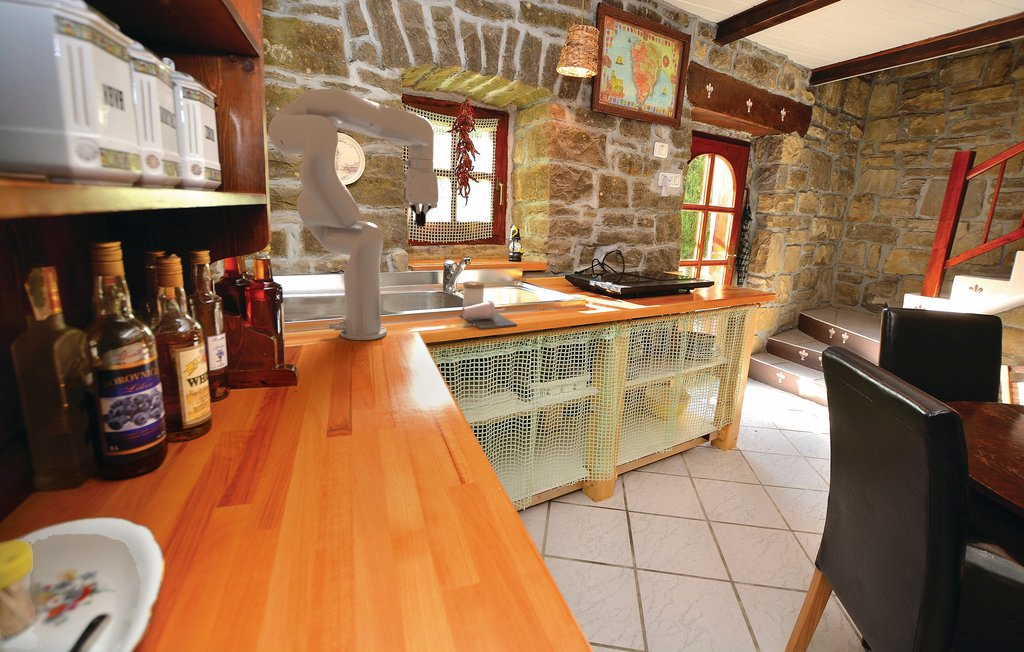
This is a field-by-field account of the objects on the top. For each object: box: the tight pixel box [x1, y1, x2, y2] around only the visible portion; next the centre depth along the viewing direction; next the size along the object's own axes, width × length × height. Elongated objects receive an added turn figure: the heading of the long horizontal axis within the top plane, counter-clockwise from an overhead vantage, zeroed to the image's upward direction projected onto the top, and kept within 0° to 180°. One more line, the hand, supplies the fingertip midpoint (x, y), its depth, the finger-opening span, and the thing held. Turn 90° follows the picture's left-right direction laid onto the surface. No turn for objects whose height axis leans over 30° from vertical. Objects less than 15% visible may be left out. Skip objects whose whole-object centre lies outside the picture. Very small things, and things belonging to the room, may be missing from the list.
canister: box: [462, 280, 485, 309], centre depth 168 cm, size 7×7×10 cm
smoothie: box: [461, 300, 506, 320], centre depth 156 cm, size 6×6×14 cm
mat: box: [459, 312, 518, 330], centre depth 158 cm, size 13×16×1 cm
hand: (420, 226), depth 153 cm, fingers closed
